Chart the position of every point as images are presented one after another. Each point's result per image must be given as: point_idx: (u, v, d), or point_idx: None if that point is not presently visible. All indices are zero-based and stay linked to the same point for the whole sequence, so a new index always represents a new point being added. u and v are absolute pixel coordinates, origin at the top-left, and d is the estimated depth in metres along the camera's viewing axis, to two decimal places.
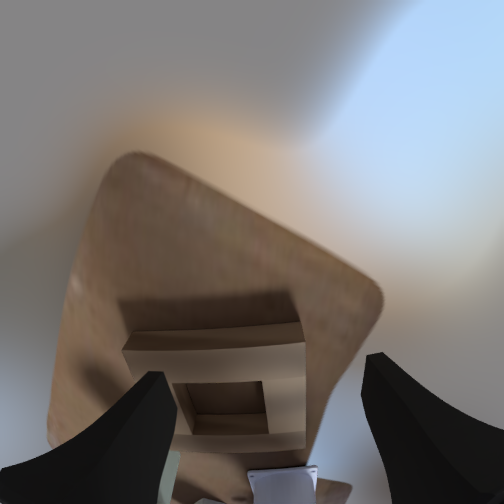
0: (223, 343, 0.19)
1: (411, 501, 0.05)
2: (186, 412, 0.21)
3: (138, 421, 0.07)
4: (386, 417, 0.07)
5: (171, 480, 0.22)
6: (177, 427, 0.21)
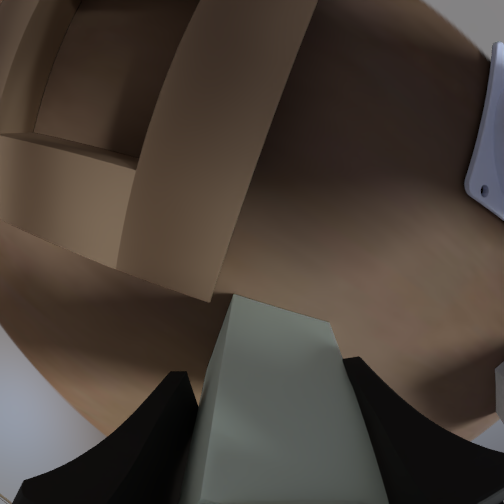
0: None
1: None
2: (80, 150, 0.08)
3: (165, 423, 0.07)
4: None
5: (326, 392, 0.07)
6: (95, 196, 0.08)
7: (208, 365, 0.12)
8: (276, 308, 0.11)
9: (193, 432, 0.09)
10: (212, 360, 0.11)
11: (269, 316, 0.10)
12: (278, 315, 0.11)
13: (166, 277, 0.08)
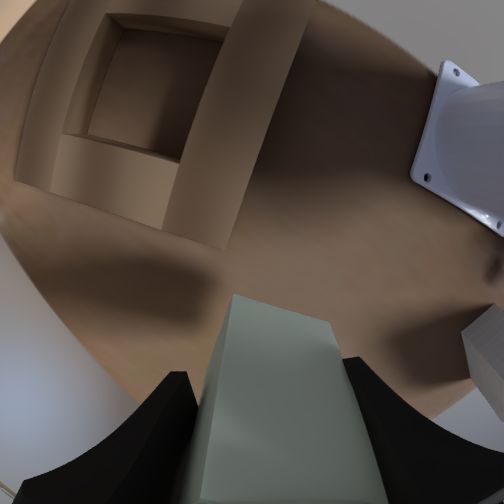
0: None
1: None
2: (135, 150, 0.12)
3: (165, 424, 0.07)
4: None
5: (326, 391, 0.07)
6: (150, 180, 0.12)
7: (208, 365, 0.12)
8: (276, 308, 0.11)
9: (193, 432, 0.09)
10: (212, 360, 0.11)
11: (269, 316, 0.11)
12: (278, 315, 0.11)
13: (197, 234, 0.13)
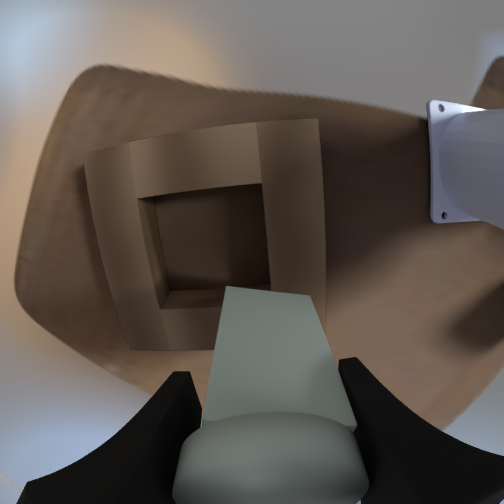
0: None
1: None
2: None
3: (169, 424, 0.07)
4: None
5: (302, 345, 0.10)
6: None
7: None
8: (262, 291, 0.14)
9: None
10: None
11: (256, 297, 0.13)
12: (264, 296, 0.13)
13: None
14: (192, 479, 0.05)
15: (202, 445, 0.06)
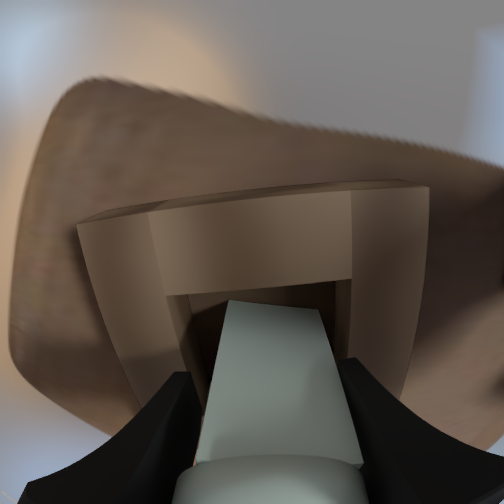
0: None
1: None
2: None
3: (170, 424, 0.07)
4: (355, 424, 0.07)
5: (309, 369, 0.09)
6: None
7: None
8: (267, 305, 0.13)
9: None
10: None
11: (260, 313, 0.12)
12: (268, 311, 0.12)
13: None
14: None
15: (196, 486, 0.05)
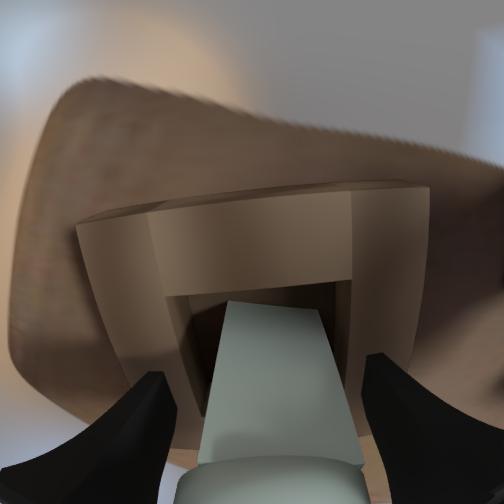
0: None
1: (411, 501, 0.05)
2: None
3: (138, 421, 0.07)
4: (386, 417, 0.07)
5: (309, 370, 0.09)
6: None
7: None
8: (267, 306, 0.13)
9: None
10: None
11: (260, 314, 0.12)
12: (268, 312, 0.12)
13: (367, 432, 0.13)
14: None
15: (198, 487, 0.05)
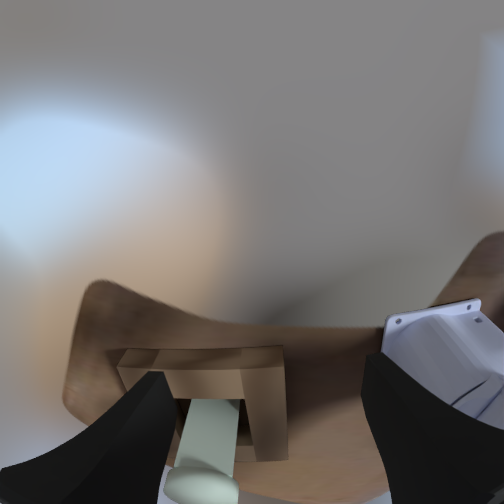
0: None
1: (411, 501, 0.05)
2: None
3: (138, 421, 0.07)
4: (386, 417, 0.07)
5: (223, 434, 0.19)
6: (242, 451, 0.22)
7: None
8: None
9: None
10: None
11: (208, 400, 0.22)
12: (213, 399, 0.23)
13: (273, 459, 0.23)
14: (169, 486, 0.14)
15: (173, 475, 0.15)
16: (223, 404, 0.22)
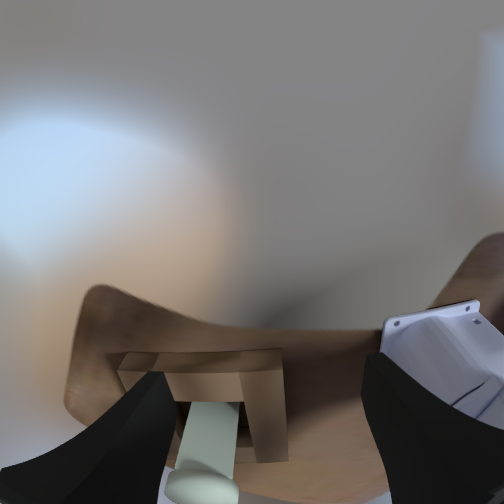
0: None
1: (411, 501, 0.05)
2: None
3: (138, 421, 0.07)
4: (386, 417, 0.07)
5: (223, 436, 0.19)
6: (242, 453, 0.22)
7: None
8: None
9: None
10: None
11: (208, 403, 0.23)
12: None
13: (273, 460, 0.23)
14: (170, 488, 0.15)
15: (174, 477, 0.15)
16: (223, 406, 0.22)
